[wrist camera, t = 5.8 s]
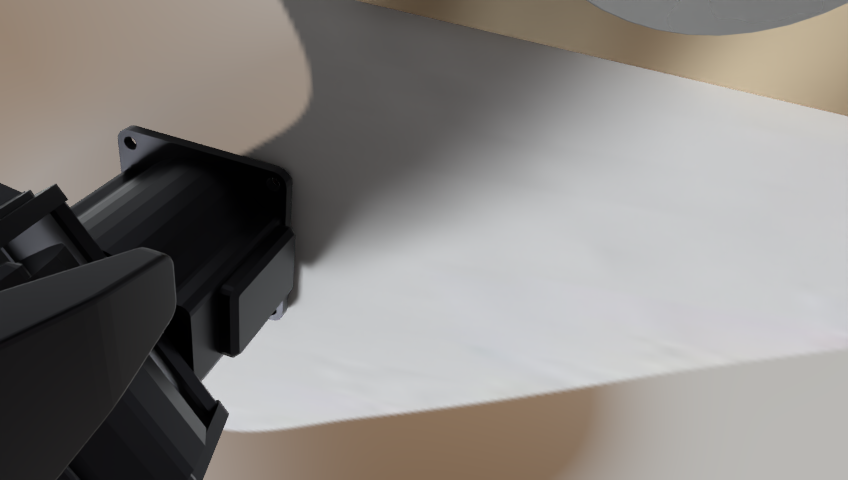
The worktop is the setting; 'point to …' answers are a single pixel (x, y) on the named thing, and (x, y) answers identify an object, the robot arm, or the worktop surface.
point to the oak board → (674, 45)
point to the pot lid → (717, 14)
